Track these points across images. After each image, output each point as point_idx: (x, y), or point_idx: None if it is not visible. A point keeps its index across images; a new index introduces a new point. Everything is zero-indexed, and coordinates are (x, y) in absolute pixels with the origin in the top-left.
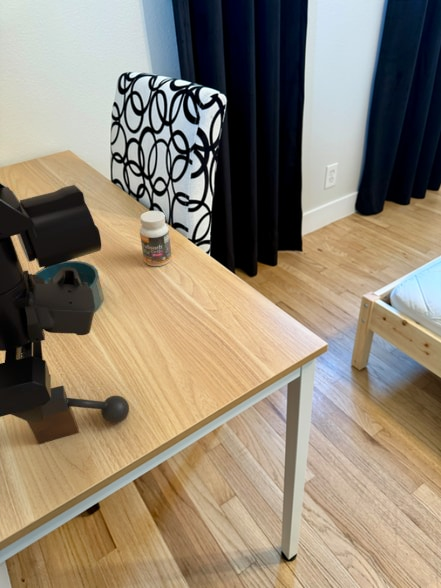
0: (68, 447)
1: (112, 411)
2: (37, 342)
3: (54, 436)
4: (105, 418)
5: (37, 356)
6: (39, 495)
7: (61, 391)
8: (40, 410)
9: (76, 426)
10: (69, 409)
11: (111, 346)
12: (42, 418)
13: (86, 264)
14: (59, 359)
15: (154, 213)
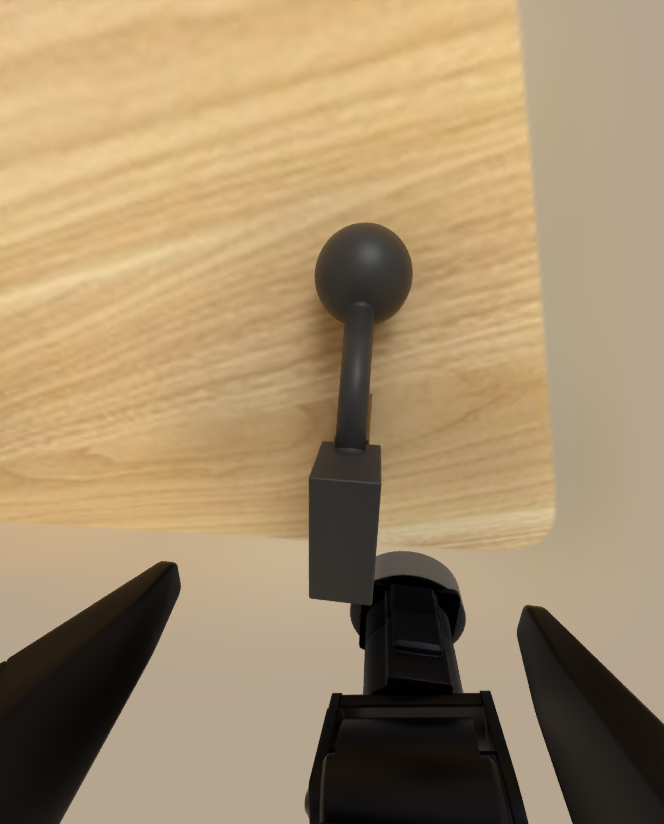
0: (406, 422)
1: (398, 287)
2: (72, 674)
3: None
4: (391, 316)
5: (153, 604)
6: (506, 494)
7: (341, 487)
8: (659, 724)
9: (370, 402)
10: (368, 437)
11: (57, 247)
12: (563, 626)
13: None
14: (98, 411)
15: None
